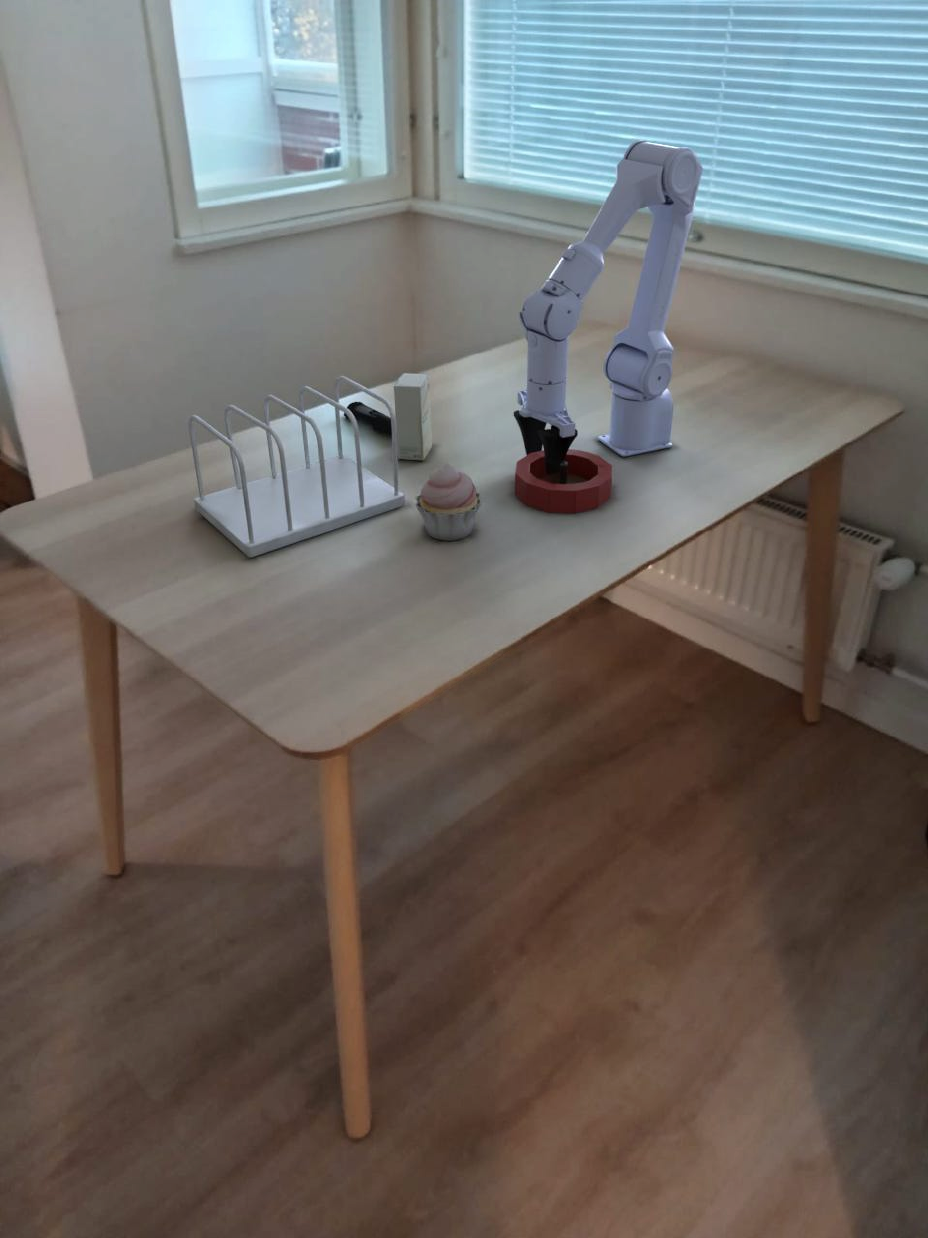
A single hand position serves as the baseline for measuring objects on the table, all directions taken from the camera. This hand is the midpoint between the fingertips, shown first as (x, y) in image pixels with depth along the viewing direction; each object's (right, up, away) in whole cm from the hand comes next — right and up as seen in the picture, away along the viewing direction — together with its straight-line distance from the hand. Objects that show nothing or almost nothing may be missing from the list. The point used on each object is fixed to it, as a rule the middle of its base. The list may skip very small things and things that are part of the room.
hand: (543, 463), depth 145 cm
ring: (+3, -5, -4) cm, 7 cm away
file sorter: (-36, -8, -7) cm, 37 cm away
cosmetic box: (-20, +3, +8) cm, 22 cm away
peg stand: (+3, -5, -4) cm, 7 cm away
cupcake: (-14, -12, -13) cm, 23 cm away
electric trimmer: (-27, +9, +16) cm, 33 cm away
